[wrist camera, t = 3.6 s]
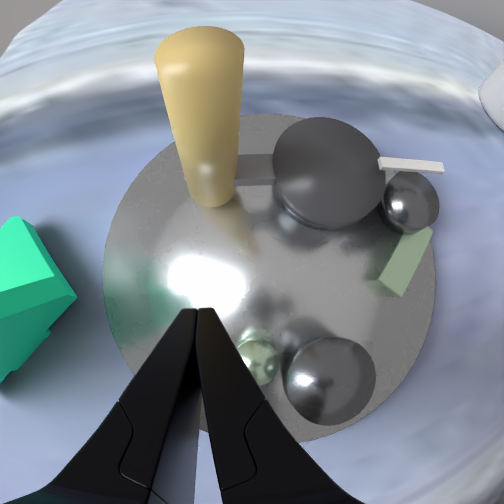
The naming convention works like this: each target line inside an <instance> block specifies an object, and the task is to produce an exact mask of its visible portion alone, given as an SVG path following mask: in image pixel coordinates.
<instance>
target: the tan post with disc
mask: <svg viewBox="0 0 504 504" xmlns="http://www.w3.org/2000/svg"><path fill="white" fill-rule="evenodd" d="M243 63H244V45H243V43H242V41H241V40H240V38H239V37H238V36H236V35H235V34H234V33H232V32H230V31H228V30H225V29H222V28H218V27H212V26H199V27H192V28H187V29H184V30H181V31H178V32H176V33H174V34H172V35H170V36H169V37H167V38H166V39H165V40H164V41H163V42H162V43H161V44H160V45H159V46H158V48H157V50H156V52H155V64H156V68H157V72H158V76H159V81H160V85H161V89H162V93H163V97H164V101H165V105H166V109H167V112H168V116H169V120H170V124H171V128H172V132H173V135H174V139H175V143H176V146H177V150H178V154H179V158H180V161H181V165H182V168H183V172H184V175H185V179H186V183H187V186H188V190H189V193H190V195H191V197H192V198H193V200H194V201H195V202H197V203H198V204H200V205H202V206H205V207H218V206H221V205H223V204H225V203H227V202H228V201H229V200H230V199H231V198H232V197H233V195H234V193H235V191H236V186H262V185H273V186H274V189H275V191H276V193H277V195H278V197H279V198H280V200H281V201H282V202H283V204H284V205H285V206H286V207H287V208H288V209H289V210H290V211H291V212H292V213H294V214H295V215H296V216H298V217H299V218H301V219H303V220H304V221H306V222H308V223H311V224H313V225H317V226H320V227H326V228H340V227H346V226H350V225H352V224H354V223H356V222H358V221H360V220H361V219H363V218H364V217H365V216H366V215H367V214H368V213H370V212H371V211H372V210H373V209H374V208H375V207H376V206H377V204H378V203H379V201H380V200H381V198H382V196H383V193H384V190H385V184H386V173H385V170H389V171H406V172H420V173H433V174H443V173H444V172H445V171H444V167H443V164H442V162H434V161H424V160H413V159H402V158H389V157H381V156H380V154H379V152H378V151H377V149H376V148H375V146H374V145H373V144H372V142H371V141H370V140H369V139H368V138H367V137H366V136H365V135H364V134H363V133H361V132H360V131H359V130H357V129H356V128H354V127H352V126H351V125H349V124H347V123H344V122H342V121H339V120H336V119H331V118H324V117H314V118H308V119H304V120H301V121H298V122H296V123H294V124H292V125H291V126H289V127H288V128H287V129H286V130H285V131H284V132H283V133H282V134H281V135H280V137H279V138H278V140H277V142H276V145H275V148H274V152H273V154H244V155H238V146H239V128H240V110H241V94H242V78H243Z"/></svg>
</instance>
